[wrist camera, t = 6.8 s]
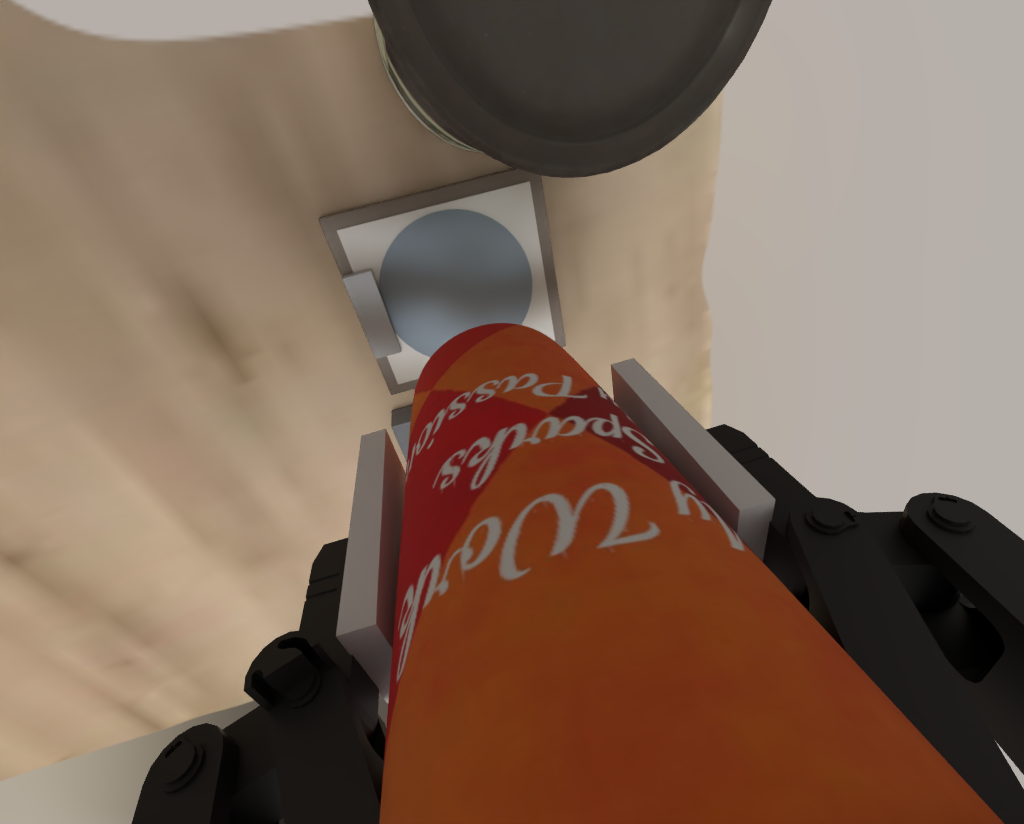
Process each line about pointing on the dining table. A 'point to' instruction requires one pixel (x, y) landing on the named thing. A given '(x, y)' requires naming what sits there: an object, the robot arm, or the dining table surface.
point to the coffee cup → (611, 632)
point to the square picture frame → (447, 267)
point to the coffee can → (562, 73)
